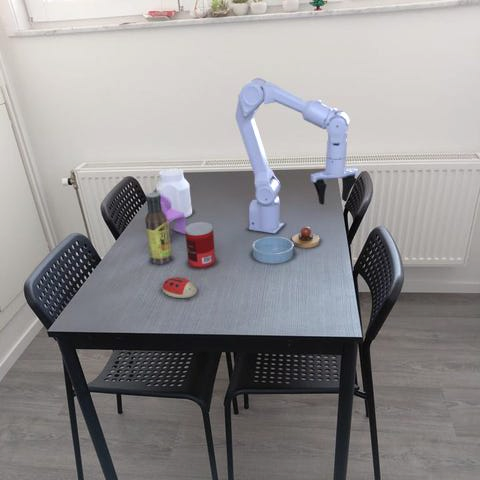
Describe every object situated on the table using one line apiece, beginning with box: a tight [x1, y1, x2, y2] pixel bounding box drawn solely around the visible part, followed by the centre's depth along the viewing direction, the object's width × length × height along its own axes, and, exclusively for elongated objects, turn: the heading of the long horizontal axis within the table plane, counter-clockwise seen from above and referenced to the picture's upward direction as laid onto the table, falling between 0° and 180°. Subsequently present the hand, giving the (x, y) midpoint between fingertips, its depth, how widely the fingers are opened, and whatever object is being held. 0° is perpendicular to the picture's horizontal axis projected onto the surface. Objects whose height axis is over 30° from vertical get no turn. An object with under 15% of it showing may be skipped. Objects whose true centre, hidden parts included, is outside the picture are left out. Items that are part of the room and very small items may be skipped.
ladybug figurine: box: [161, 276, 198, 299], centre depth 125 cm, size 7×10×4 cm
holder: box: [291, 232, 320, 249], centre depth 148 cm, size 8×8×2 cm
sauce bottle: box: [145, 191, 172, 265], centre depth 136 cm, size 6×6×20 cm
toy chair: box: [160, 194, 187, 235], centre depth 152 cm, size 8×9×15 cm
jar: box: [155, 167, 193, 219], centre depth 168 cm, size 12×10×15 cm
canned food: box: [184, 221, 216, 269], centre depth 136 cm, size 8×8×11 cm
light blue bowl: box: [251, 236, 295, 265], centre depth 141 cm, size 12×12×3 cm
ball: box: [300, 226, 312, 237], centre depth 146 cm, size 3×3×3 cm
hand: (332, 201), depth 148 cm, fingers open, 7 cm apart
